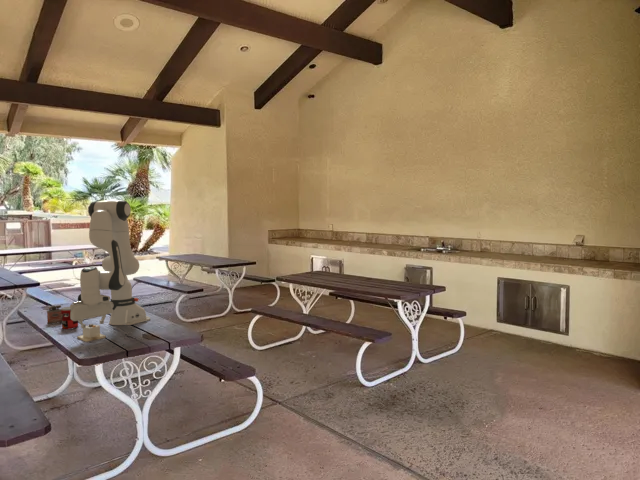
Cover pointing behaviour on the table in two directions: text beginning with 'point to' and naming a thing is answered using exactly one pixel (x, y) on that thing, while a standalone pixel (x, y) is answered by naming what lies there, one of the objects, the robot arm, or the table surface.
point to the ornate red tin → (54, 315)
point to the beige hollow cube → (91, 331)
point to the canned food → (67, 319)
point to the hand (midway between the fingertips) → (92, 325)
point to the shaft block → (92, 337)
